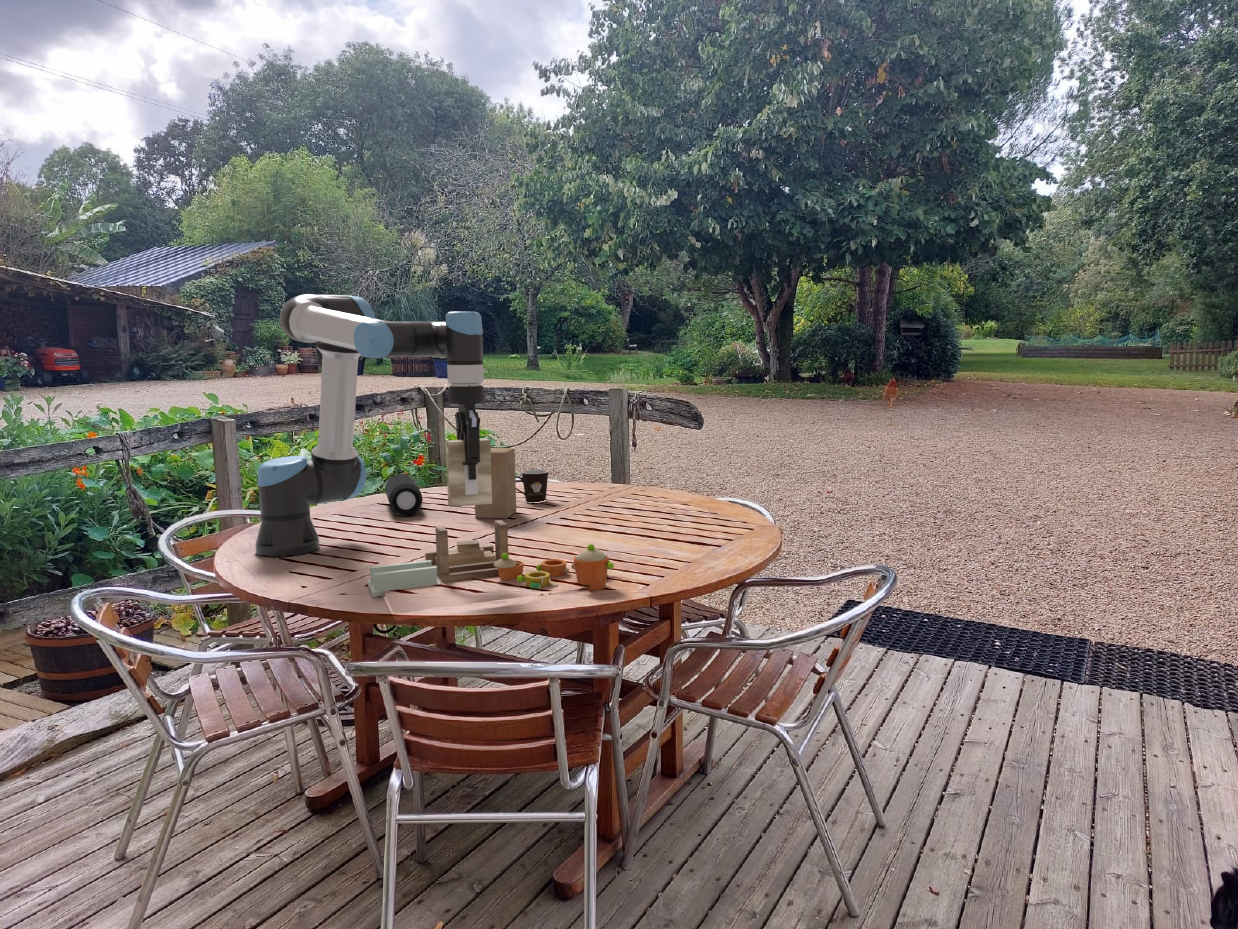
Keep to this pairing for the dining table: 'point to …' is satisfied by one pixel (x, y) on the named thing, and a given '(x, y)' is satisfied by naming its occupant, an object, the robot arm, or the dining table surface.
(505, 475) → the wooden block
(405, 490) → the portable speaker
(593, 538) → the dining table surface
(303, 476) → the robot arm
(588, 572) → the toy tea set
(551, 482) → the dining table surface
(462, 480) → the birch block
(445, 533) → the rack
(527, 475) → the coffee mug
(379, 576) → the stand
